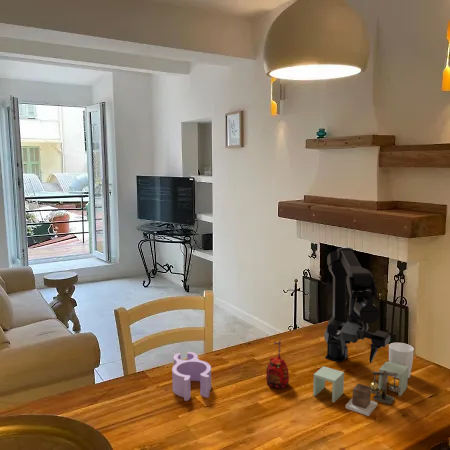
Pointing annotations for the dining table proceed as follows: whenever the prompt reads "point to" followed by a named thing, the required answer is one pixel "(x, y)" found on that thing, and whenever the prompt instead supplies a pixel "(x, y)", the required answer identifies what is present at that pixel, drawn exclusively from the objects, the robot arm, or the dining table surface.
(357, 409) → the grey ceramic tile
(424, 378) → the dining table surface
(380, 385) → the green cover right
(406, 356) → the white cup
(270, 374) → the red clay folk toy
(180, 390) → the clip
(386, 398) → the bronze balance
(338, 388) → the green cover left
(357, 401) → the walnut block
